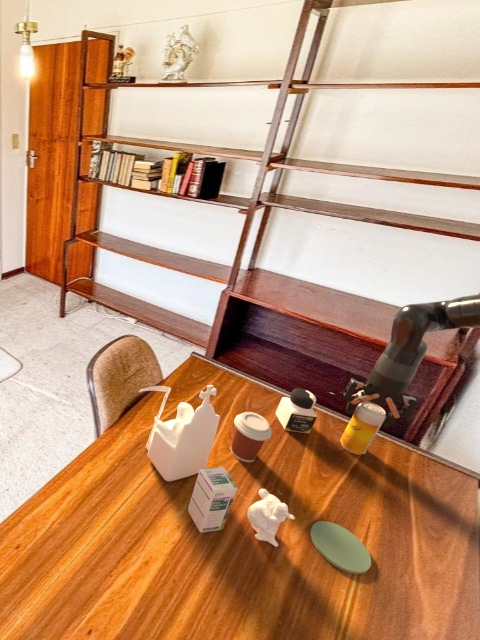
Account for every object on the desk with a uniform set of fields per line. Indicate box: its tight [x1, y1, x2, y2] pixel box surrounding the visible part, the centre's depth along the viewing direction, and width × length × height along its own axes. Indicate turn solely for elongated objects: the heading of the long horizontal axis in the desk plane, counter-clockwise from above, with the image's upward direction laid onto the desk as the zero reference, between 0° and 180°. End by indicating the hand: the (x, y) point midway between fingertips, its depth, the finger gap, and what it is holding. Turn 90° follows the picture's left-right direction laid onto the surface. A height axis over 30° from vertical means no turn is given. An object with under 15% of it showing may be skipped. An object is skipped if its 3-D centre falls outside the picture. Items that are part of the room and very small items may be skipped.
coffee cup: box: [229, 411, 273, 463], centre depth 109 cm, size 9×9×12 cm
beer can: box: [339, 401, 387, 456], centre depth 111 cm, size 6×6×15 cm
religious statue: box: [138, 384, 221, 482], centre depth 101 cm, size 17×14×30 cm
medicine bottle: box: [275, 387, 318, 434], centre depth 119 cm, size 7×7×12 cm
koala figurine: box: [246, 488, 296, 548], centre depth 88 cm, size 8×7×12 cm
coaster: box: [309, 520, 372, 575], centre depth 88 cm, size 11×11×1 cm
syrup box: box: [187, 465, 238, 534], centre depth 90 cm, size 6×6×14 cm
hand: (367, 418), depth 110 cm, fingers open, 8 cm apart
